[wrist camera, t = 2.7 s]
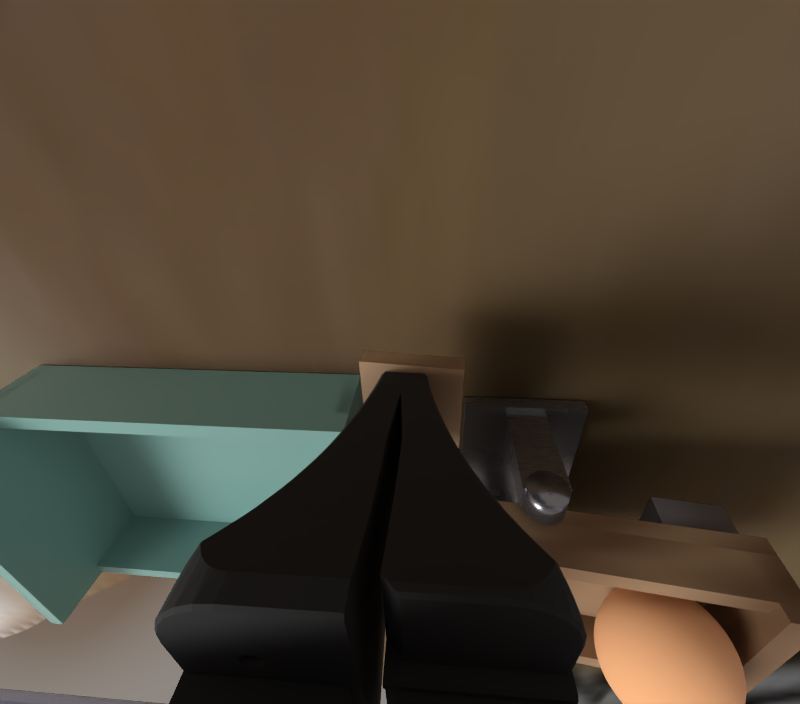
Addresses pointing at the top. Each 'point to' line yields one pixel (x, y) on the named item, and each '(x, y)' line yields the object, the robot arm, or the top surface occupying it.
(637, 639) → the ball
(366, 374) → the chute
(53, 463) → the tray
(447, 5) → the top surface
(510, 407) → the launcher stand
